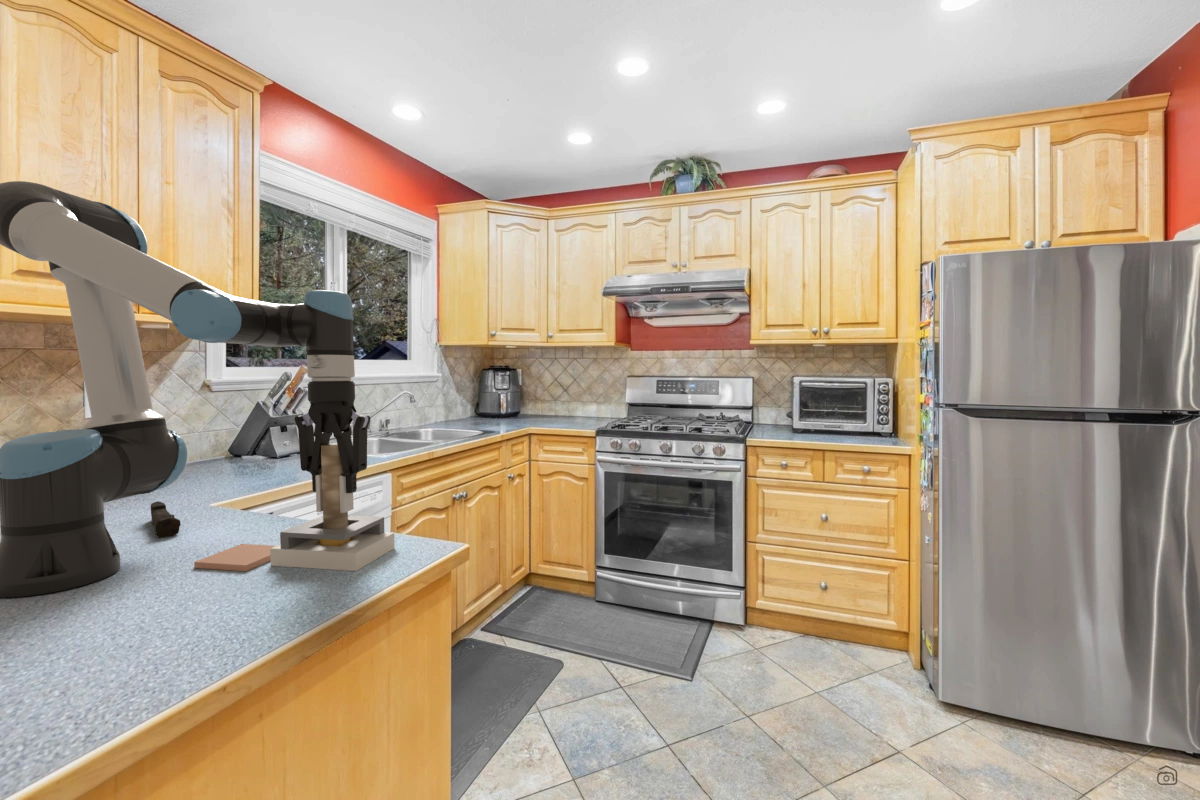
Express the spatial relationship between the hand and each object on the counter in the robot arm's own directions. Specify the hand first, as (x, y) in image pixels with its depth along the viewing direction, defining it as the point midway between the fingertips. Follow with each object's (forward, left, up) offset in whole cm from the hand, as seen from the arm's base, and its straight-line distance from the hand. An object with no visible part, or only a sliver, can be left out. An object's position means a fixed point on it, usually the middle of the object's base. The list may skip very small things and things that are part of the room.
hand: (335, 510), depth 97 cm
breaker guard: (0, 0, -8) cm, 8 cm away
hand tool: (-49, +11, -9) cm, 51 cm away
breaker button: (0, 0, -7) cm, 7 cm away
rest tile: (-15, -4, -8) cm, 18 cm away
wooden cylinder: (0, 0, -4) cm, 4 cm away
